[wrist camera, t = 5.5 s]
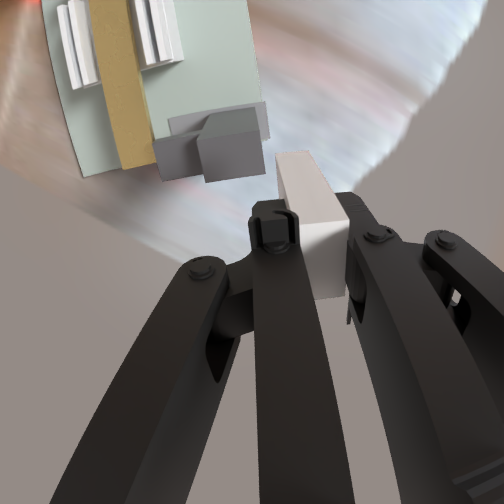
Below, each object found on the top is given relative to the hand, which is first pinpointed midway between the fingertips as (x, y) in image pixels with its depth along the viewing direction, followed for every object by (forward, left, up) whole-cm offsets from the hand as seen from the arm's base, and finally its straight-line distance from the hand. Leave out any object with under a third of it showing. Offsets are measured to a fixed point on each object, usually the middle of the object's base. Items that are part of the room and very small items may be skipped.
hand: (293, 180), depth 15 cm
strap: (-8, -11, -11) cm, 18 cm away
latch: (+1, -5, -16) cm, 17 cm away
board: (-8, -10, -17) cm, 22 cm away
